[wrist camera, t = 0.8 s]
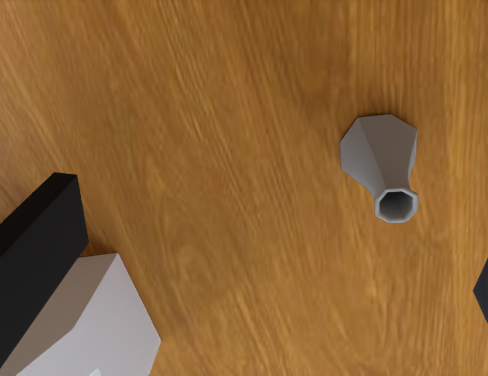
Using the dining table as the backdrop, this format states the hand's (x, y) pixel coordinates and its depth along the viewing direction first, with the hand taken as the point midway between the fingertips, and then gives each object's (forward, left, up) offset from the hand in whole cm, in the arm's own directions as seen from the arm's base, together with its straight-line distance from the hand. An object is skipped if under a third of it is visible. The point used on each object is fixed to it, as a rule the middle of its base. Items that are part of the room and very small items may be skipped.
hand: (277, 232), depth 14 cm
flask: (+8, +9, -27) cm, 30 cm away
